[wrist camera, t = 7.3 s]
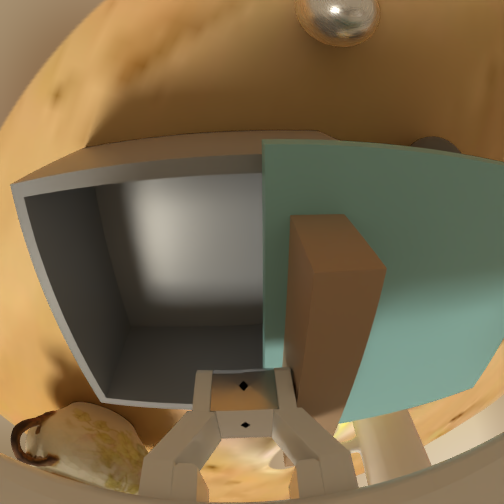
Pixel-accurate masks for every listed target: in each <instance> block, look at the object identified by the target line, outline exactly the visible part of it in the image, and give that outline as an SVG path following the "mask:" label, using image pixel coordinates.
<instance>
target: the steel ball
mask: <svg viewBox="0 0 504 504" xmlns="http://www.w3.org/2000/svg"><path fill="white" fill-rule="evenodd" d="M295 11H296V16H297V18H298V21H299V23H300V24H301V26H302V27H303V29H304V30H305V31H306V32H307V33H308V34H309V35H310V36H312V37H313V38H315V39H316V40H318V41H320V42H322V43H324V44H327V45H330V46H336V47H349V46H354V45H358V44H360V43H362V42H364V41H366V40H367V39H369V38H370V37H371V36H372V35H373V33H374V32H375V31H376V29H377V27H378V24H379V20H380V9H379V5H378V2H377V0H295Z"/></svg>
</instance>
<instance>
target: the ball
mask: <svg viewBox="0 0 504 504" xmlns="http://www.w3.org/2000/svg"><path fill="white" fill-rule="evenodd" d="M411 147H419V148H427V149H434V150H441V151H447V152H453V153H459V154H461V152H460V151H459V150H458V149H457V147H456V146H454V145H453V144H452V143H451V142H449V141H447V140H445V139H443V138H439V137H425V138H421V139H419V140H417V141H416V142H414V143H413V144H412V145H411Z"/></svg>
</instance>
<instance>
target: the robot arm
mask: <svg viewBox="0 0 504 504" xmlns="http://www.w3.org/2000/svg"><path fill="white" fill-rule="evenodd" d="M245 437H272V438H273V440H274V441H275V442H276V443H277V445H278V446H279V447H280V448H281V449H282V450H283V452H284V453H285V454H286V455H287V457H288V458H289V459H290V460H291V461H292V463H293V464H294V465H295V469H294V472H293V475H292V478H291V482H290V485H289V494H290V499H289V500H279V501H265V502H241V503H219V502H209V489H208V487H207V485H206V483H205V481H204V479H203V477H202V475H201V473H200V470H201V468H202V467H203V466H204V464H205V463H206V461H207V460H208V459H209V457H210V456H211V454H212V453H213V451H214V450H215V449H216V447H217V446H218V444H219V443H220V441H221V438H245ZM0 504H504V432H503V433H501V434H499V435H497V436H496V437H494V438H492V439H490V440H488V441H486V442H484V443H483V444H480V445H478V446H476V447H474V448H472V449H470V450H468V451H466V452H464V453H461V454H459V455H457V456H455V457H452V458H450V459H448V460H445V461H443V462H440V463H438V464H435V465H433V466H430V467H427V468H425V469H422V470H419V471H416V472H413V473H410V474H407V475H404V476H401V477H398V478H394V479H391V480H388V481H384V482H381V483H377V484H373V485H369V486H365V487H361V488H359V487H358V483H357V479H356V475H355V470H354V466H353V462H352V458H351V454H350V451H349V450H347V449H346V448H345V447H344V446H343V445H342V444H341V443H340V442H339V441H337V440H336V439H335V438H334V437H333V436H332V435H331V434H330V433H329V432H328V431H326V430H325V429H324V428H323V427H322V426H321V425H320V424H319V423H318V422H317V421H316V420H315V419H314V418H312V417H311V416H310V415H309V414H308V413H307V412H306V411H305V410H304V409H303V408H302V407H299V408H297V404H296V398H295V392H294V386H293V380H292V375H291V369H290V368H289V367H280V368H274V369H273V368H261V369H243V370H197V372H196V377H195V387H194V396H193V406H192V411H187V412H186V413H185V415H184V416H183V417H182V418H181V419H180V420H179V421H178V422H177V423H176V424H175V426H174V427H173V428H172V429H171V430H170V431H169V432H168V433H167V434H166V435H165V436H164V437H163V438H162V439H161V441H160V442H159V443H158V444H157V445H156V446H155V447H154V448H153V449H152V450H151V451H150V452H149V453H148V454H147V455H146V456H145V457H144V460H143V466H142V472H141V478H140V485H139V492H138V495H134V494H128V493H123V492H118V491H113V490H109V489H104V488H100V487H96V486H92V485H88V484H84V483H81V482H77V481H74V480H70V479H67V478H64V477H61V476H57V475H54V474H52V473H49V472H46V471H43V470H40V469H38V468H35V467H32V466H30V465H27V464H25V463H22V462H20V461H18V460H15V459H13V458H11V457H8V456H6V455H4V454H2V453H0Z"/></svg>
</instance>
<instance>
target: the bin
mask: <svg viewBox="0 0 504 504" xmlns="http://www.w3.org/2000/svg"><path fill="white" fill-rule="evenodd" d="M262 139H310V140H337V139H335V138H333V137H331V136H329V135H326V134H324V133H322V132H320V131H310V130H246V131H222V132H205V133H192V134H180V135H170V136H160V137H151V138H143V139H136V140H129V141H122V142H115V143H109V144H103V145H97V146H91V147H86V148H83V149H81V150H78V151H76V152H74V153H71V154H69V155H67V156H65V157H63V158H61V159H59V160H56V161H54V162H52V163H50V164H48V165H46V166H44V167H42V168H40V169H38V170H36V171H34V172H32V173H30V174H29V175H27V176H25V177H23V178H21V179H19V180H18V181H16V182H14V183H12V184H10V186H11V190H12V194H13V199H14V203H15V207H16V211H17V215H18V218H19V222H20V225H21V229H22V232H23V236H24V239H25V242H26V245H27V248H28V251H29V254H30V257H31V260H32V263H33V266H34V269H35V271H36V274H37V277H38V279H39V282H40V284H41V287H42V289H43V292H44V294H45V297H46V299H47V301H48V304H49V306H50V308H51V311H52V313H53V315H54V317H55V320H56V322H57V324H58V326H59V328H60V330H61V332H62V334H63V336H64V338H65V340H66V342H67V344H68V346H69V348H70V350H71V352H72V354H73V356H74V358H75V359H76V361H77V363H78V365H79V367H80V368H81V370H82V372H83V374H84V375H85V377H86V379H87V381H88V382H89V384H90V386H91V387H92V389H93V391H94V392H95V394H96V395H97V397H98V399H99V400H100V402H101V403H109V404H117V405H126V406H136V407H148V408H164V409H187V410H192V406H193V396H194V387H195V377H196V372H197V370H243V369H261V368H263V218H262ZM338 141H339V140H338Z"/></svg>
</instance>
